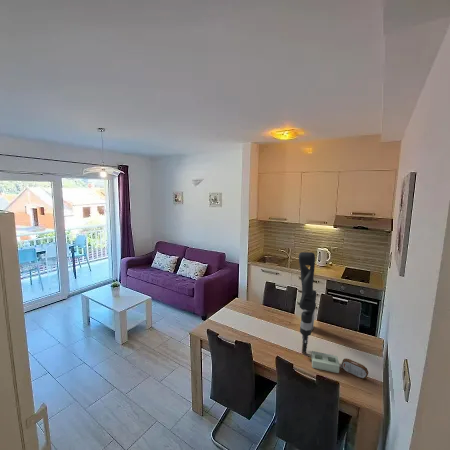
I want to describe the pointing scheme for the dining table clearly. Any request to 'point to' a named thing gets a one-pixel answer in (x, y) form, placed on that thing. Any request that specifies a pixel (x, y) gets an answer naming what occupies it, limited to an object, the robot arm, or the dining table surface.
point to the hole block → (325, 362)
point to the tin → (355, 368)
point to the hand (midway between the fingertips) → (304, 348)
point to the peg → (302, 349)
